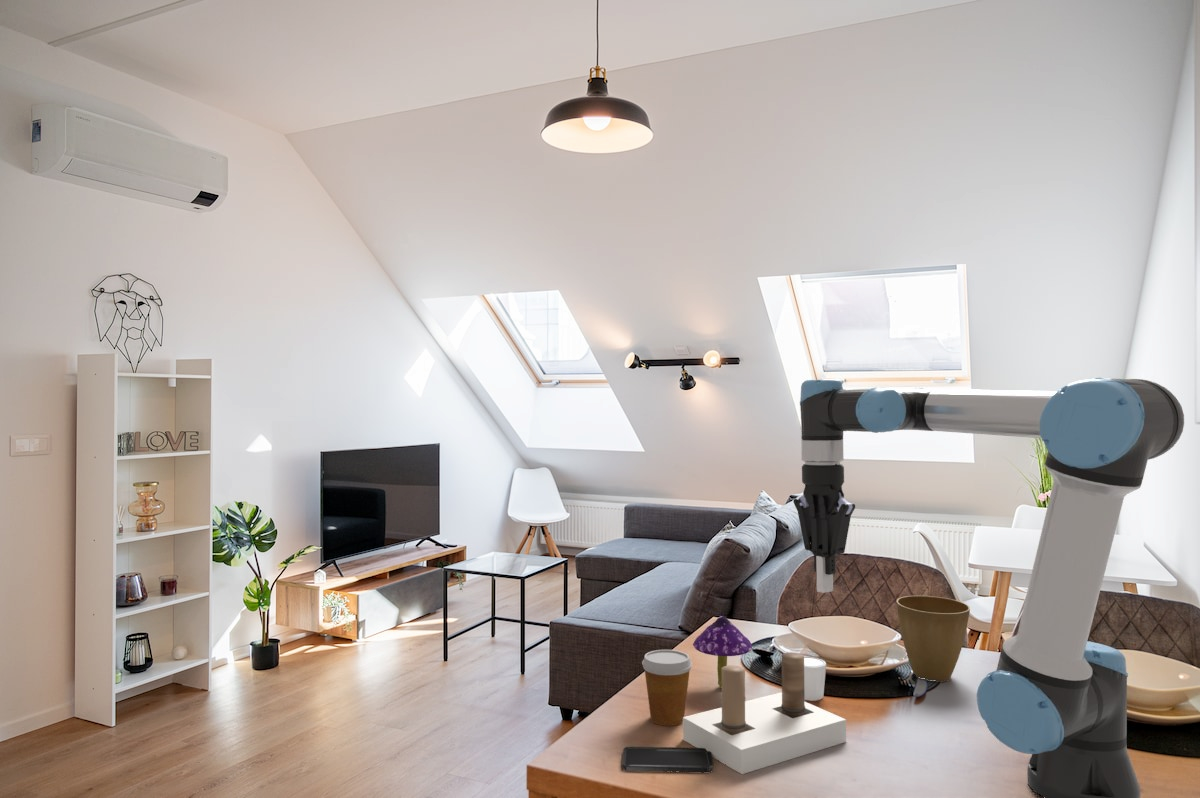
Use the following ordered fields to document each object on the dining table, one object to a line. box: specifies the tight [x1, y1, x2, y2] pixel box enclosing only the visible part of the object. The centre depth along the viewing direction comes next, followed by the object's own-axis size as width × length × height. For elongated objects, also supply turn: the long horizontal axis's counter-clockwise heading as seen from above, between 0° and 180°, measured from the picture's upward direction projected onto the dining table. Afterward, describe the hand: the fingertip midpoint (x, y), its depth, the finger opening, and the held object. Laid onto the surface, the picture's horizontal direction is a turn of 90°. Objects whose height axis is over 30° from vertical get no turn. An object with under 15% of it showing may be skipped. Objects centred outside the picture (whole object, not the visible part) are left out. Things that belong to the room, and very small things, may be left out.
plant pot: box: [896, 595, 971, 683], centre depth 181 cm, size 15×15×16 cm
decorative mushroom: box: [692, 615, 753, 688], centre depth 175 cm, size 12×12×15 cm
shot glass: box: [804, 656, 827, 702], centre depth 170 cm, size 7×7×7 cm
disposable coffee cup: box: [641, 649, 693, 727], centre depth 158 cm, size 10×10×12 cm
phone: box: [621, 745, 714, 774], centre depth 140 cm, size 8×1×15 cm
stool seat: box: [682, 665, 847, 775], centre depth 148 cm, size 16×24×14 cm, turn 121°
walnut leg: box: [781, 652, 805, 718], centre depth 151 cm, size 4×4×14 cm
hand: (825, 591), depth 153 cm, fingers closed
